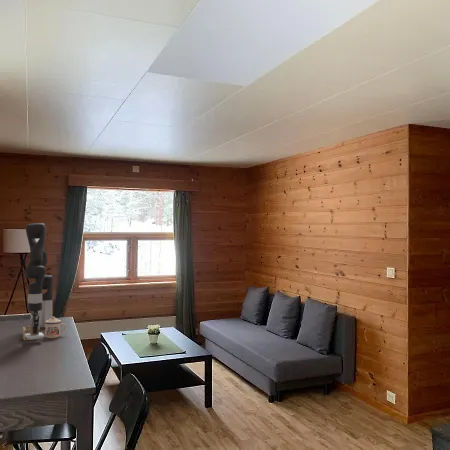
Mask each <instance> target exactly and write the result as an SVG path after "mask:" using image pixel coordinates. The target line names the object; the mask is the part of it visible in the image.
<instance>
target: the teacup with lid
mask: <svg viewBox="0 0 450 450" xmlns="http://www.w3.org/2000/svg"><path fill="white" fill-rule="evenodd" d="M62 326H64V329H63V330H62V329H61V327H62ZM66 330H67V325H66V324H65V323H62V320H61V319H58V318H56V317H55V316H52V317H51V319H49V320H47V321H45V327H44V332H45V333H44V337H45V338H46V339H56V338H59V337H61V336H62V335H61V334H62V333H64V332H65V331H66Z"/></svg>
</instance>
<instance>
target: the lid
mask: <svg viewBox="0 0 450 450" xmlns="http://www.w3.org/2000/svg"><path fill="white" fill-rule="evenodd" d="M29 327H30V333H28V334H25V336H26V338H27V339H29V340H31V339H33V340H40V339H42V338H44V337H45V334H44V333H43V332H42V331H40V332H39V328H40V327H39V326H38V329H37V333H36V334H33V325H31V324H30V325H29ZM29 340H28V341H29ZM31 341H32V340H31Z"/></svg>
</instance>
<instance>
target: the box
mask: <svg viewBox="0 0 450 450" xmlns="http://www.w3.org/2000/svg"><path fill="white" fill-rule="evenodd" d="M40 328H41V327H39V332H41V331H40V330H41V329H40ZM28 333H30V326H23V327H22V338H23V340H24V341H29V339H27V338H26V336H25V334H28ZM32 340H34V339H31V341H32Z"/></svg>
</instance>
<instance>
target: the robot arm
mask: <svg viewBox="0 0 450 450" xmlns="http://www.w3.org/2000/svg"><path fill="white" fill-rule="evenodd" d="M25 234H26V238H27V241H28V245H29V250H30V251H29V260H28V261H29V262H28V263H27V266H26V269H25V271H24V275H25V277H26V278H27V279H33V280H34V282H31V283H29V284H28V290H27V291H28V292H27V293H28V295H27V311H28V312H30V325H33V334H36V333H37V329H38V326H39V328H45V321H47V320H49V319H51V317H53V292H54V291H53V290H54V277H53V275H50V274H46V271H47V269H46V266H47V264H48V261H49V260H48V253H47V251H46V250H45V249H44V247H45V243H46V238H47V237H46V236H47V227H46V224H45V223H43V222H39V223H38V222H37V223H35V222H34V223H28V224H26V226H25ZM36 239H38V240H37V241H36ZM43 290H46V291H45V292H43Z"/></svg>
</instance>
